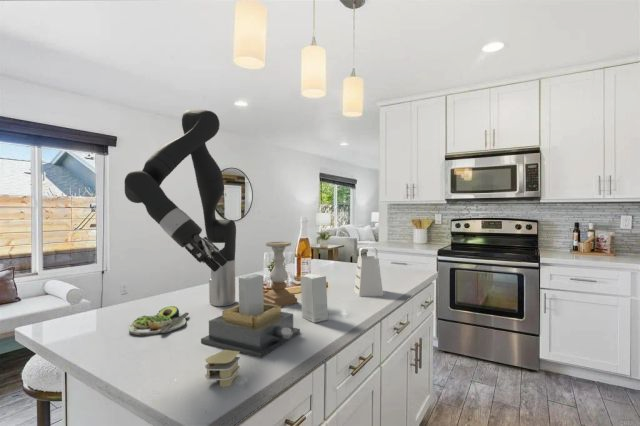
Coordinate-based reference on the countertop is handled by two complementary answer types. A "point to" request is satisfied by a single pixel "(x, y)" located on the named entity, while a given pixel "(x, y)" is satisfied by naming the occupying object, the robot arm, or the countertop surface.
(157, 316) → the salad plate
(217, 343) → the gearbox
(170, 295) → the countertop surface
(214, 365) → the tan layered stack
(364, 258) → the grater
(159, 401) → the countertop surface
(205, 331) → the countertop surface
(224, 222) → the robot arm
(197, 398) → the countertop surface
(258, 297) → the skincare box
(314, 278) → the skincare box
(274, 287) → the candle holder
